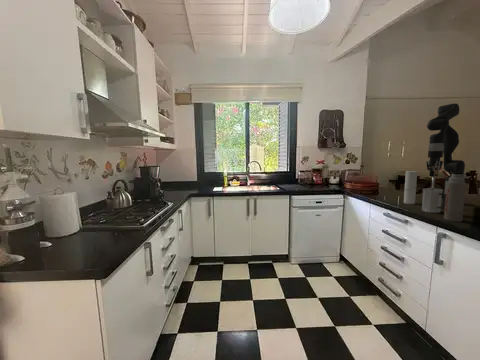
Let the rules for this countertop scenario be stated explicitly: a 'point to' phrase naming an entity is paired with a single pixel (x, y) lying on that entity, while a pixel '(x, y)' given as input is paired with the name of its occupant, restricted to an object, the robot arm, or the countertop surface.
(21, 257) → the countertop surface
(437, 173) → the plunger
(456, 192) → the thermos bottle
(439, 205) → the press body
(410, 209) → the countertop surface
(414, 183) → the cylindrical container
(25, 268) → the countertop surface
